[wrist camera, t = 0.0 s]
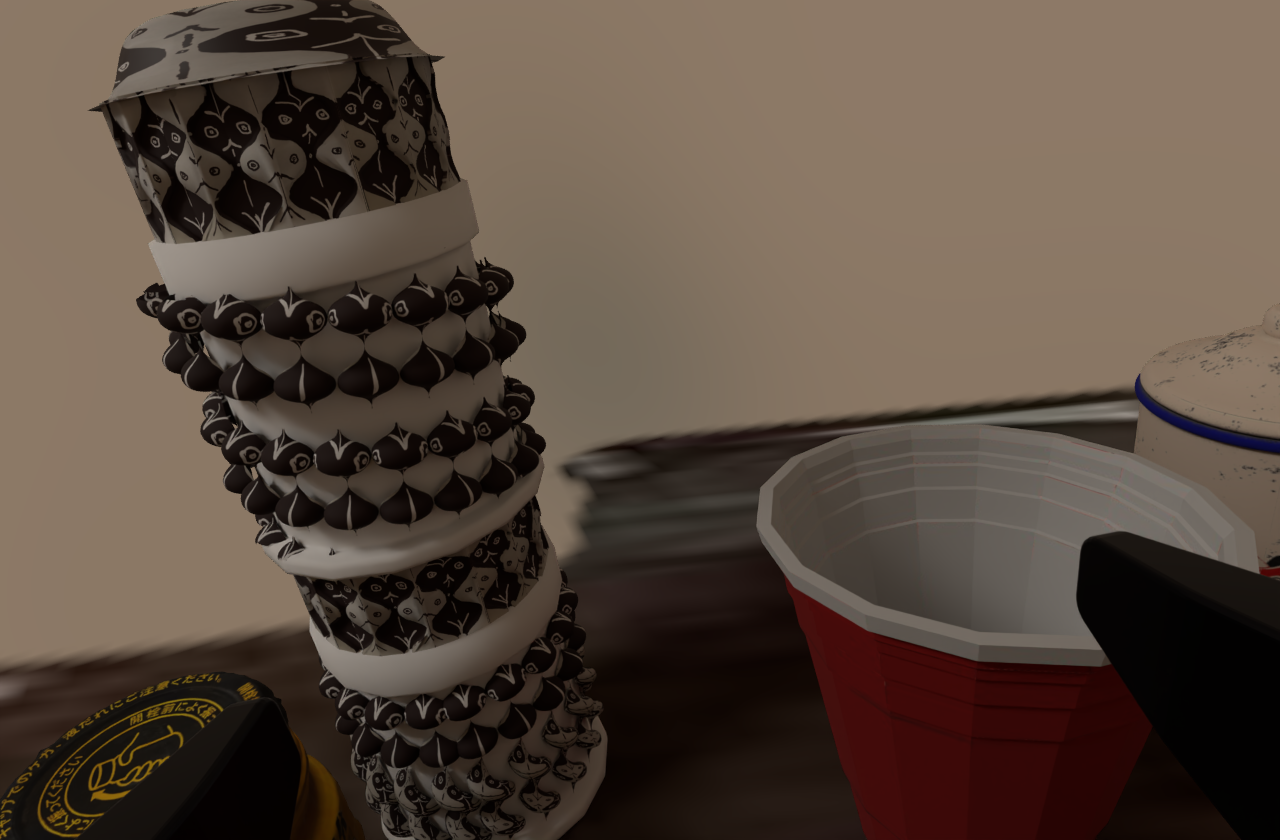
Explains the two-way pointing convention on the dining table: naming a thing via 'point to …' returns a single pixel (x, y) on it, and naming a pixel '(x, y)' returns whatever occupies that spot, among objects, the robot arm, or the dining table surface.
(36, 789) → the condiment
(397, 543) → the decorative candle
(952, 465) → the plastic cup
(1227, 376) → the teacup with lid
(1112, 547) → the robot arm
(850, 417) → the dining table surface
